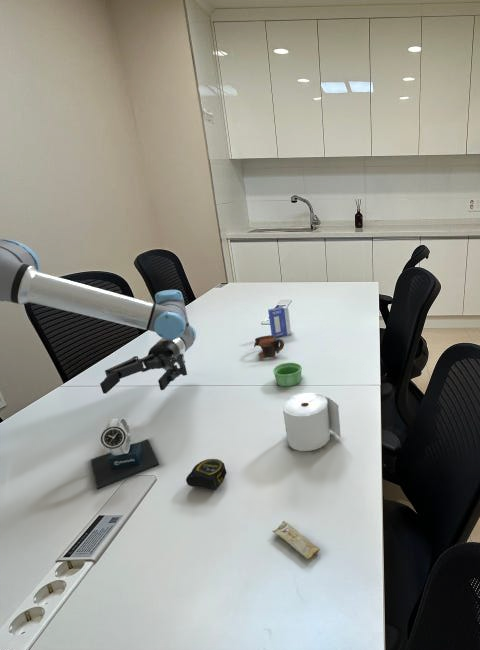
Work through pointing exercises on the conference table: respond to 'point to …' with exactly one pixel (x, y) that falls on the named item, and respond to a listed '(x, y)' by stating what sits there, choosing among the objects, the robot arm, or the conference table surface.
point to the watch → (120, 445)
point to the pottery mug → (269, 346)
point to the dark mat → (109, 476)
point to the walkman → (279, 321)
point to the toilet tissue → (310, 420)
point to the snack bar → (296, 540)
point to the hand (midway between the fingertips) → (132, 387)
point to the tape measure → (207, 474)
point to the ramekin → (287, 374)
